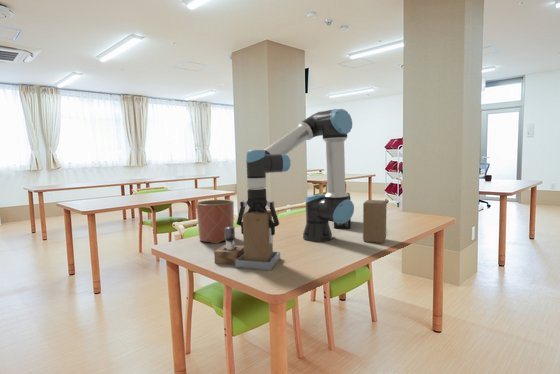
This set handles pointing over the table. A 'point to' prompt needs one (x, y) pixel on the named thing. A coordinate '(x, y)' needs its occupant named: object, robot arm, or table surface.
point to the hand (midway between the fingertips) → (258, 242)
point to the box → (343, 225)
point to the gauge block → (228, 254)
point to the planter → (214, 219)
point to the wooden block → (257, 236)
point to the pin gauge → (230, 237)
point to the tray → (257, 263)
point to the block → (374, 221)
